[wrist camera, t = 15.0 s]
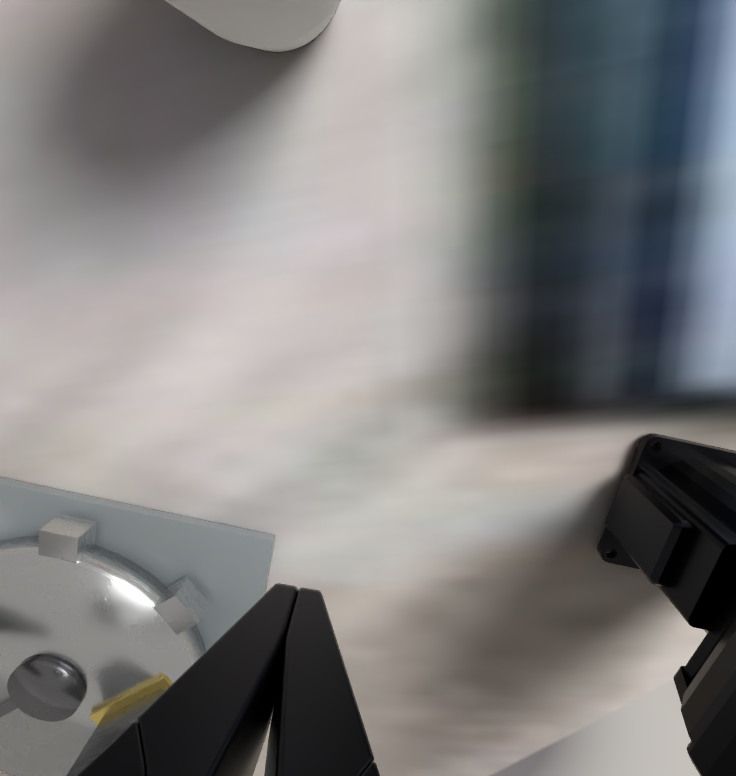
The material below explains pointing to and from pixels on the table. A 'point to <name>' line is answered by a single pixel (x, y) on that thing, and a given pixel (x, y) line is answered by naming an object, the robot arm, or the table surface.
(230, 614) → the base plate
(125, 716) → the link block
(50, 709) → the sprocket
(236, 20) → the cup
